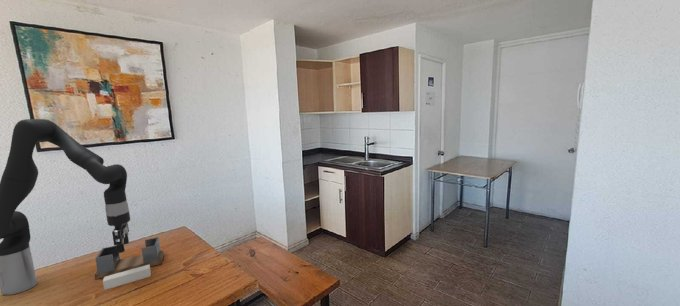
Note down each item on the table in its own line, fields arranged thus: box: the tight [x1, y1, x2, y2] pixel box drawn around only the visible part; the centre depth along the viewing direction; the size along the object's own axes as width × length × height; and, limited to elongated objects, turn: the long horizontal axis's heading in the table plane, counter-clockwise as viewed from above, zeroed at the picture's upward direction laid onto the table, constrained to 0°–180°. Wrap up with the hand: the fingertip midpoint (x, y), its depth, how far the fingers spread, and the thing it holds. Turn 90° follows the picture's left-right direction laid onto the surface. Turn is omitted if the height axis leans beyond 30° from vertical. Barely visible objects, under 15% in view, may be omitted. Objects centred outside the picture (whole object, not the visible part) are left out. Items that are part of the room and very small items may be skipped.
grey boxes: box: [95, 236, 162, 274], centre depth 131 cm, size 23×11×8 cm, turn 118°
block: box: [102, 264, 152, 291], centre depth 120 cm, size 16×4×4 cm, turn 124°
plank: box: [94, 249, 165, 280], centre depth 132 cm, size 25×11×2 cm, turn 118°
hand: (123, 247), depth 118 cm, fingers open, 8 cm apart
